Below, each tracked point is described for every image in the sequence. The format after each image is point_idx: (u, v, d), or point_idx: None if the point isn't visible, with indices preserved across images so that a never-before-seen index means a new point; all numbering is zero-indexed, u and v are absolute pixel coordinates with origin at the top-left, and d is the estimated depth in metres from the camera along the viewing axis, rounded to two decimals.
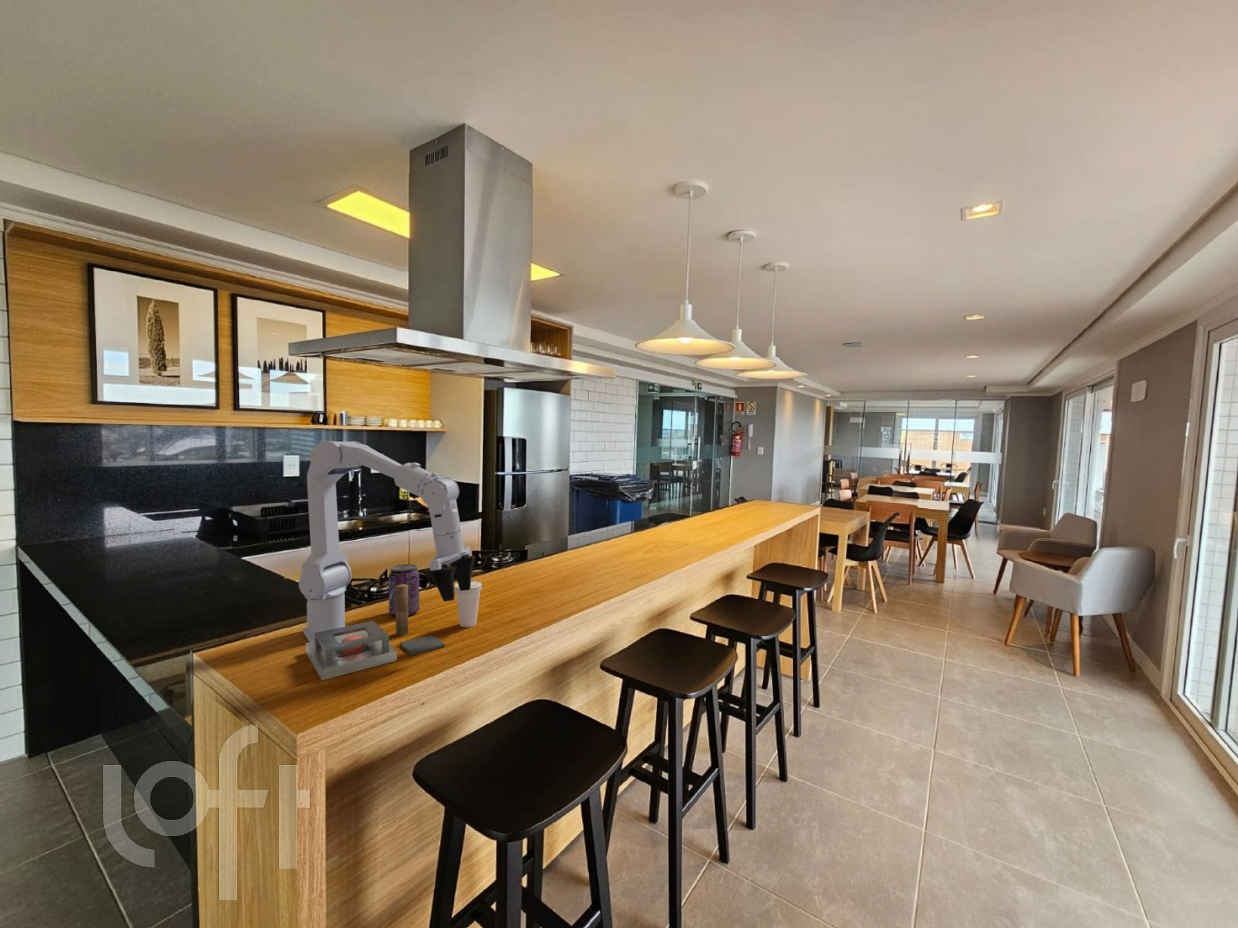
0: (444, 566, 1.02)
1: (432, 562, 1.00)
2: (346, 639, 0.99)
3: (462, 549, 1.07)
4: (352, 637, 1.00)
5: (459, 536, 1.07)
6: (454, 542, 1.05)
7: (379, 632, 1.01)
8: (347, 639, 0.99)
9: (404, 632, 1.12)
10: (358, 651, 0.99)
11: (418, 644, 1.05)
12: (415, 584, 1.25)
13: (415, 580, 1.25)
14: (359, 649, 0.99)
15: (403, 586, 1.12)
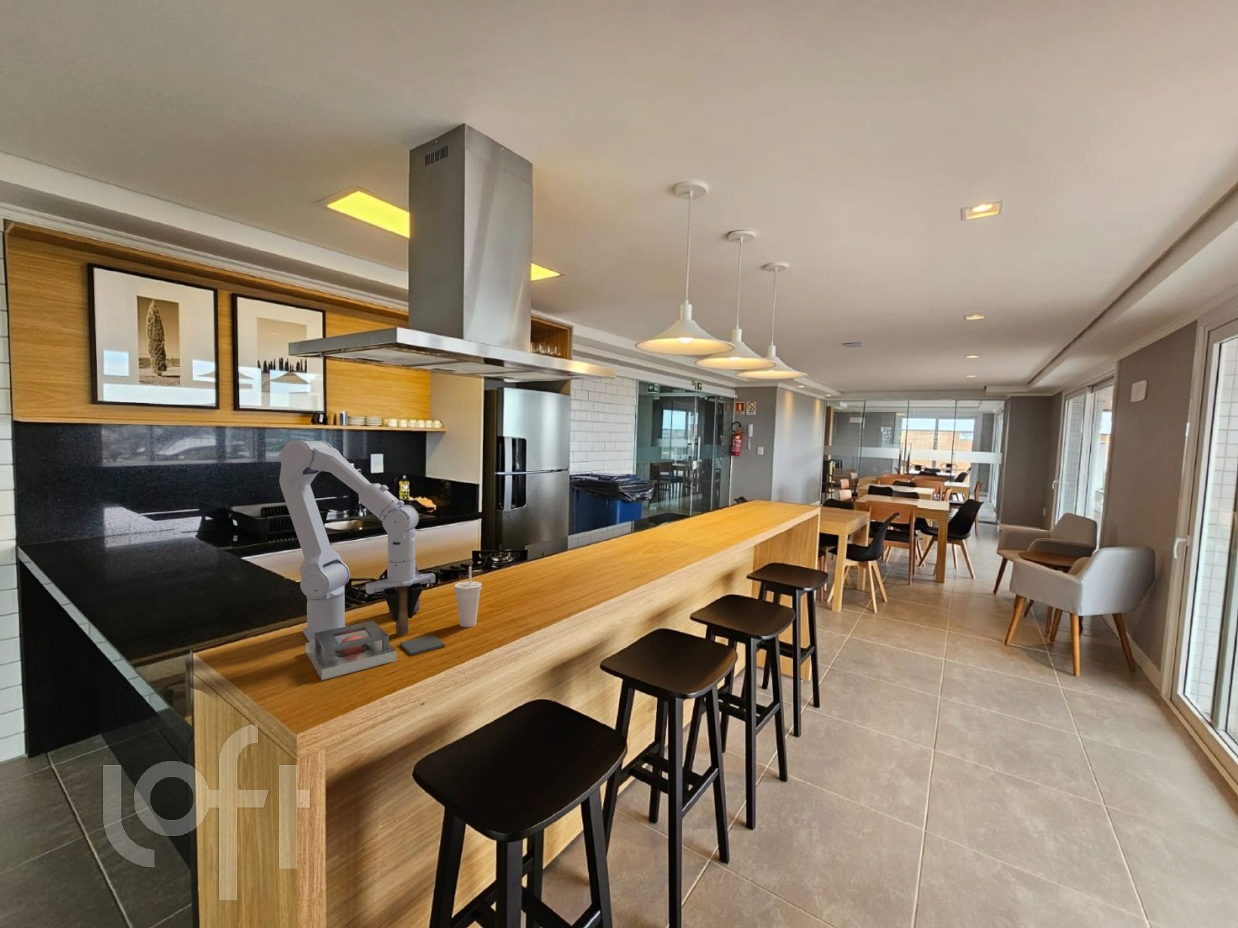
0: (390, 589, 1.10)
1: (366, 585, 1.08)
2: (346, 639, 0.99)
3: (406, 579, 1.10)
4: (352, 637, 1.00)
5: (404, 566, 1.10)
6: (397, 571, 1.10)
7: (379, 632, 1.01)
8: (347, 639, 0.99)
9: (404, 632, 1.12)
10: (358, 651, 0.99)
11: (418, 644, 1.05)
12: None
13: None
14: (359, 649, 0.99)
15: (403, 586, 1.12)
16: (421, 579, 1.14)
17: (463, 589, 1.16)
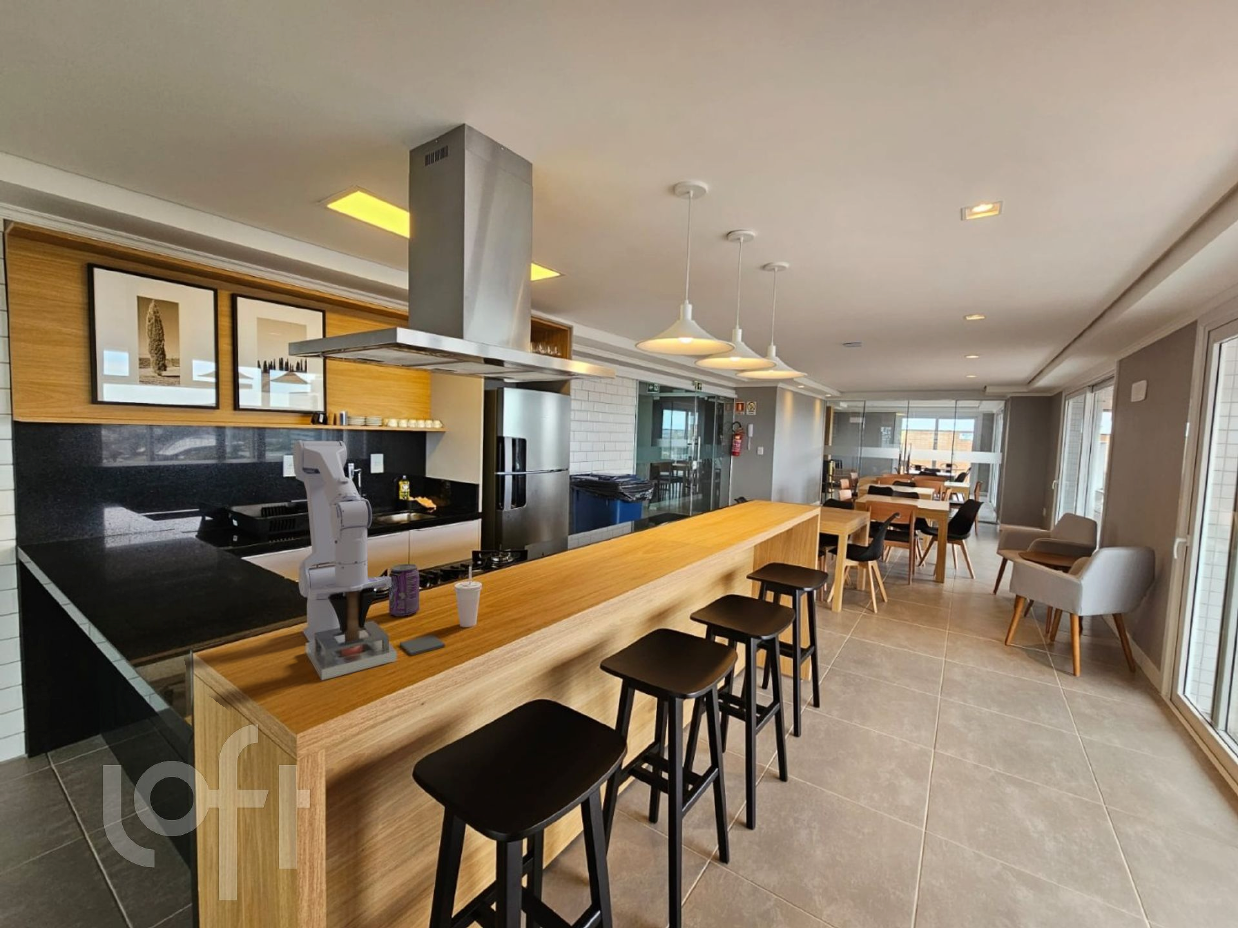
0: (337, 595, 0.96)
1: (309, 590, 0.94)
2: None
3: (355, 583, 0.97)
4: None
5: (353, 568, 0.96)
6: (344, 574, 0.96)
7: (379, 632, 1.01)
8: None
9: None
10: None
11: (418, 644, 1.05)
12: (415, 584, 1.25)
13: (415, 580, 1.25)
14: None
15: (353, 591, 0.98)
16: (374, 583, 1.00)
17: (463, 589, 1.16)
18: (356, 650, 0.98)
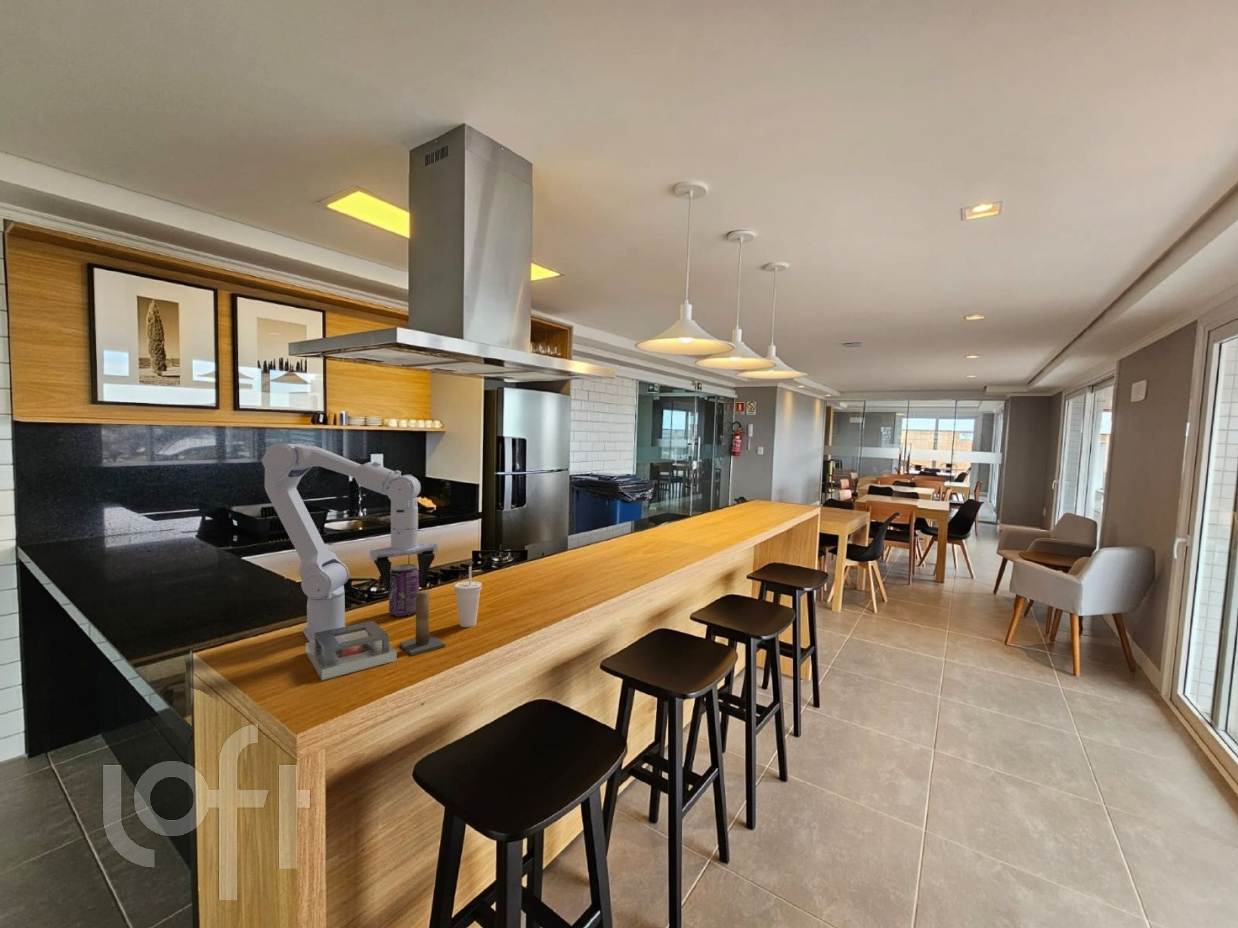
0: (383, 558, 1.10)
1: (370, 552, 1.09)
2: None
3: (409, 546, 1.12)
4: None
5: (407, 534, 1.11)
6: (400, 539, 1.11)
7: (379, 632, 1.01)
8: None
9: (424, 642, 1.05)
10: None
11: None
12: (415, 584, 1.25)
13: (415, 580, 1.25)
14: None
15: (423, 593, 1.05)
16: (424, 547, 1.15)
17: (463, 589, 1.16)
18: (356, 650, 0.98)
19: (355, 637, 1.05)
